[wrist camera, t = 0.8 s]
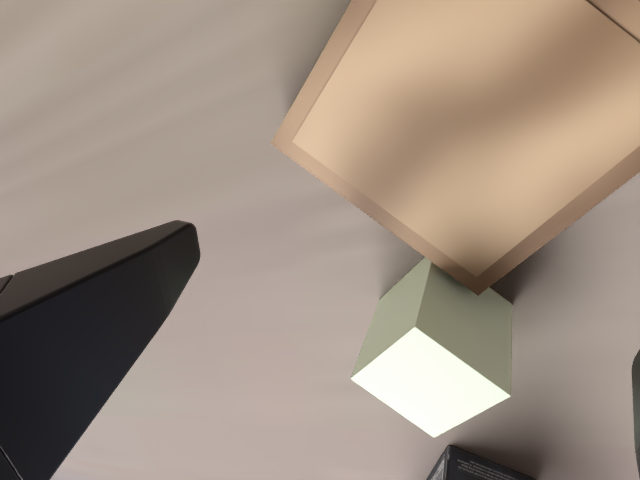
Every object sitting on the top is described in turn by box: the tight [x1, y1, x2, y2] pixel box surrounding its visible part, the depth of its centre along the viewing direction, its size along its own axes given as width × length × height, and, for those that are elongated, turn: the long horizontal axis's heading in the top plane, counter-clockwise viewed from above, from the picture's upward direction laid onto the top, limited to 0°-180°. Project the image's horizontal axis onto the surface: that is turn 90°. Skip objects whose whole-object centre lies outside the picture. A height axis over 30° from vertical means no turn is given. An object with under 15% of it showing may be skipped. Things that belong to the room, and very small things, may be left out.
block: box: [351, 257, 512, 437], centre depth 23 cm, size 5×5×6 cm
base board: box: [270, 0, 640, 296], centre depth 19 cm, size 12×12×2 cm
